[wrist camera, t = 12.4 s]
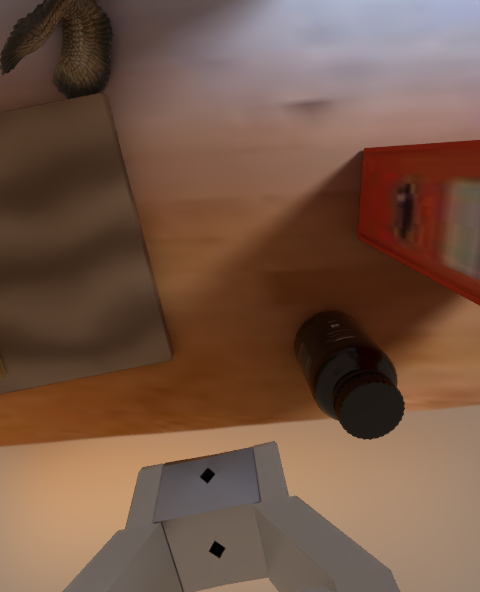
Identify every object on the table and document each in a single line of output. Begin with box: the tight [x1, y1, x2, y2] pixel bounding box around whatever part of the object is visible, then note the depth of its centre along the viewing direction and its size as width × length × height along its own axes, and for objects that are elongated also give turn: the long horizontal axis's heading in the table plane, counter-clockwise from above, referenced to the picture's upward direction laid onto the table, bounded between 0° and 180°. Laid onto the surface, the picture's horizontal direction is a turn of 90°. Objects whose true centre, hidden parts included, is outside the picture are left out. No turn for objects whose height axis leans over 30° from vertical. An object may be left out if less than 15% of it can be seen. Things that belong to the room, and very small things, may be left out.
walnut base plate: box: [0, 93, 174, 394], centre depth 35 cm, size 23×22×2 cm
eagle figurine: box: [0, 0, 113, 99], centre depth 28 cm, size 8×7×9 cm
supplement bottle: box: [294, 311, 405, 440], centre depth 35 cm, size 7×7×12 cm
